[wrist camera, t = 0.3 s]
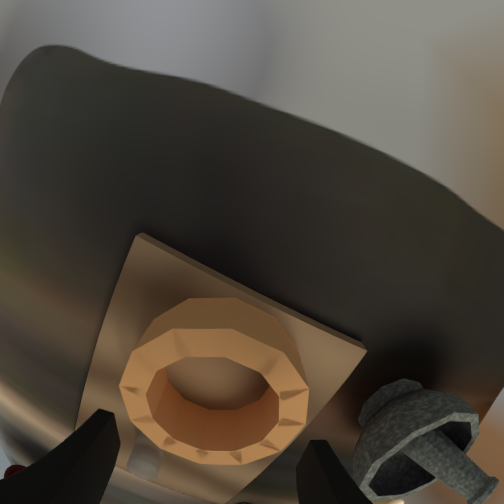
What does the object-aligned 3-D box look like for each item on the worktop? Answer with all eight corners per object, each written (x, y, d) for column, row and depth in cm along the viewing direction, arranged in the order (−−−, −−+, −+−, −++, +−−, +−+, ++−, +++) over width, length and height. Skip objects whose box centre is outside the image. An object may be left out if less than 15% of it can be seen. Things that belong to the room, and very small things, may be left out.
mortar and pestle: (316, 438, 21) (345, 558, 9) (377, 350, 19) (461, 471, 7) (409, 447, 22) (454, 532, 10) (465, 374, 20) (538, 451, 8)
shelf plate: (223, 496, 23) (221, 531, 18) (77, 434, 21) (58, 465, 17) (361, 342, 19) (387, 380, 14) (143, 232, 17) (109, 246, 13)
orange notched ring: (250, 439, 19) (251, 479, 15) (125, 386, 18) (106, 421, 14) (327, 341, 18) (345, 377, 14) (177, 267, 17) (157, 290, 13)
